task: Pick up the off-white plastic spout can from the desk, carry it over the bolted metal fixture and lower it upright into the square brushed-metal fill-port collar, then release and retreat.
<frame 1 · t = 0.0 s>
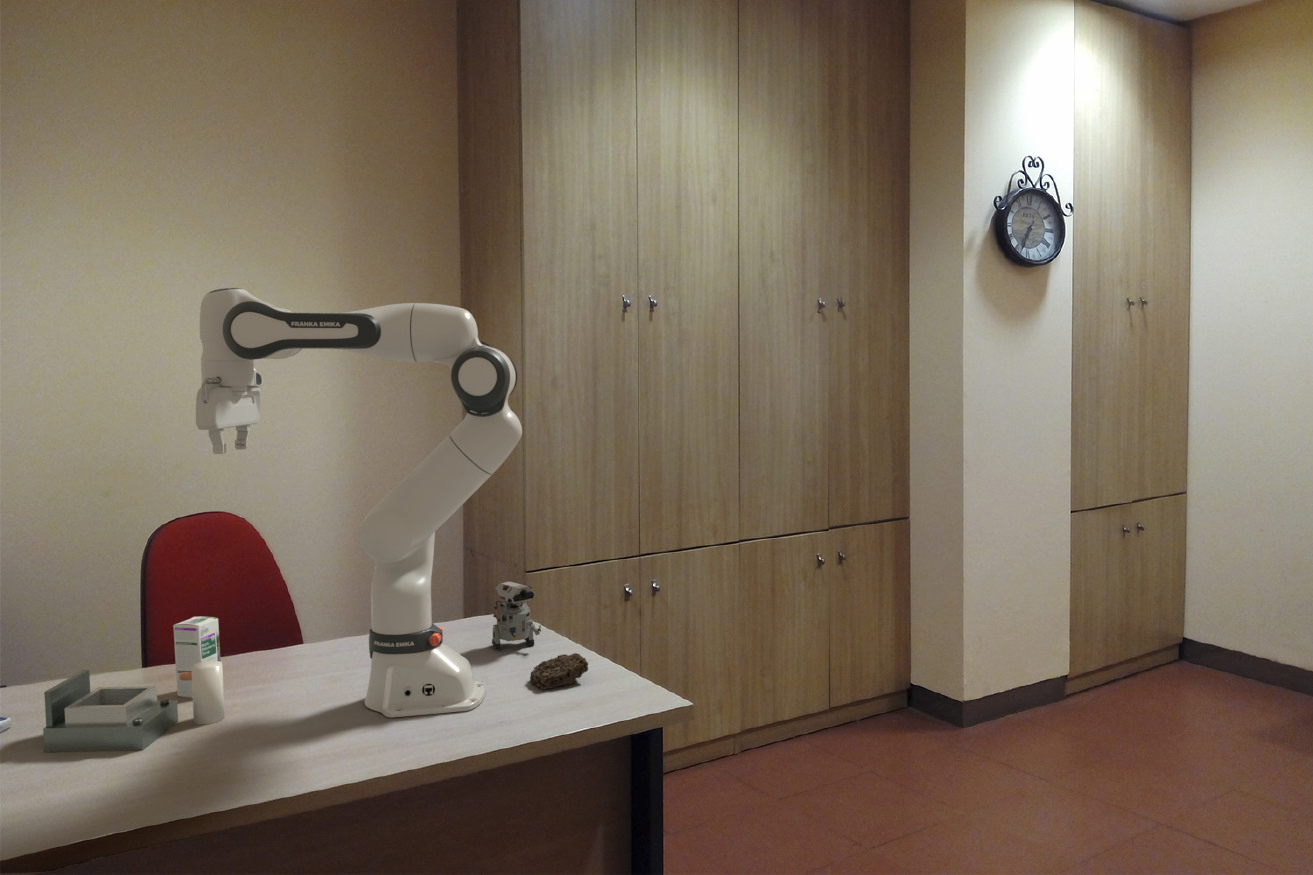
hand: (230, 451, 167), 48 cm above the table, tool pointing down, fingers open, 8 cm apart
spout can: (209, 719, 163), on the table
syrup box: (199, 693, 177), on the table
bolted metal fixture: (114, 736, 155), on the table
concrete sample: (558, 682, 183), on the table
figurine: (515, 649, 204), on the table
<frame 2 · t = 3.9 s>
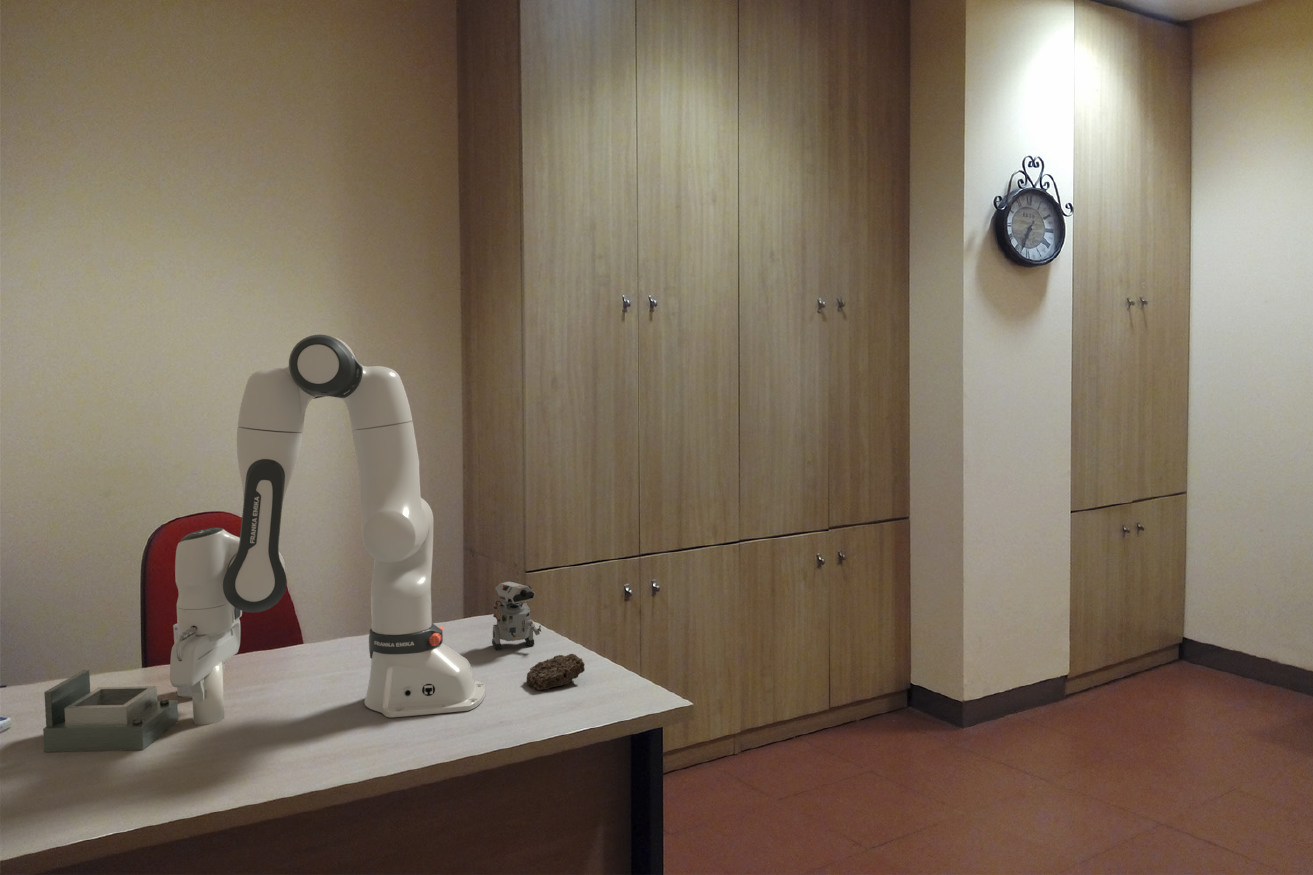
hand: (208, 694, 163), 5 cm above the table, tool pointing down, fingers closed on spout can, 5 cm apart
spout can: (208, 719, 163), on the table, touching gripper
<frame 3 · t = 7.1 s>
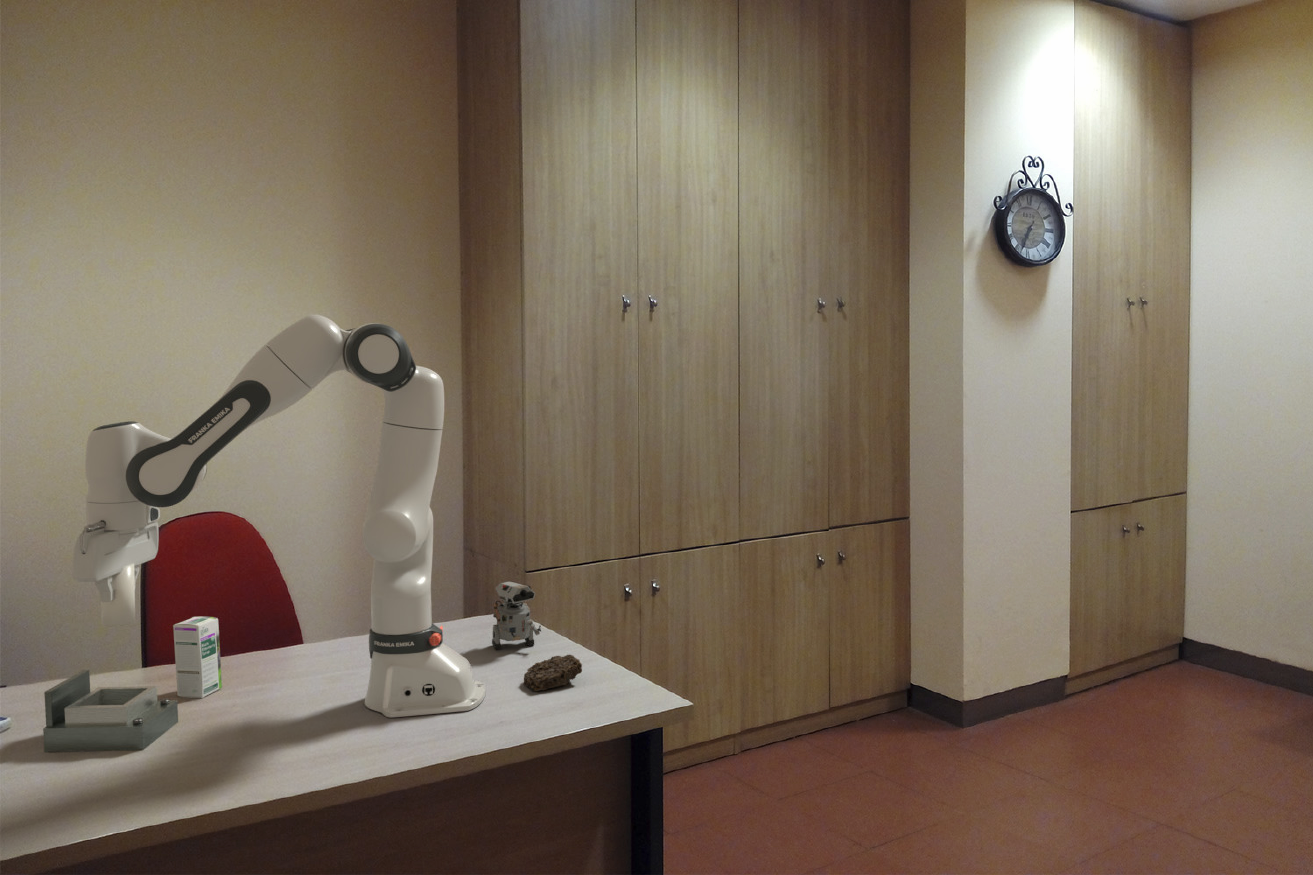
hand: (118, 596, 154), 24 cm above the table, tool pointing down, fingers closed on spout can, 5 cm apart
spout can: (118, 622, 155), point 20 cm above the table, touching gripper
when the fingers open (10 cm above the table, at t = 10.6 s): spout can drops 1 cm, resting on bolted metal fixture.
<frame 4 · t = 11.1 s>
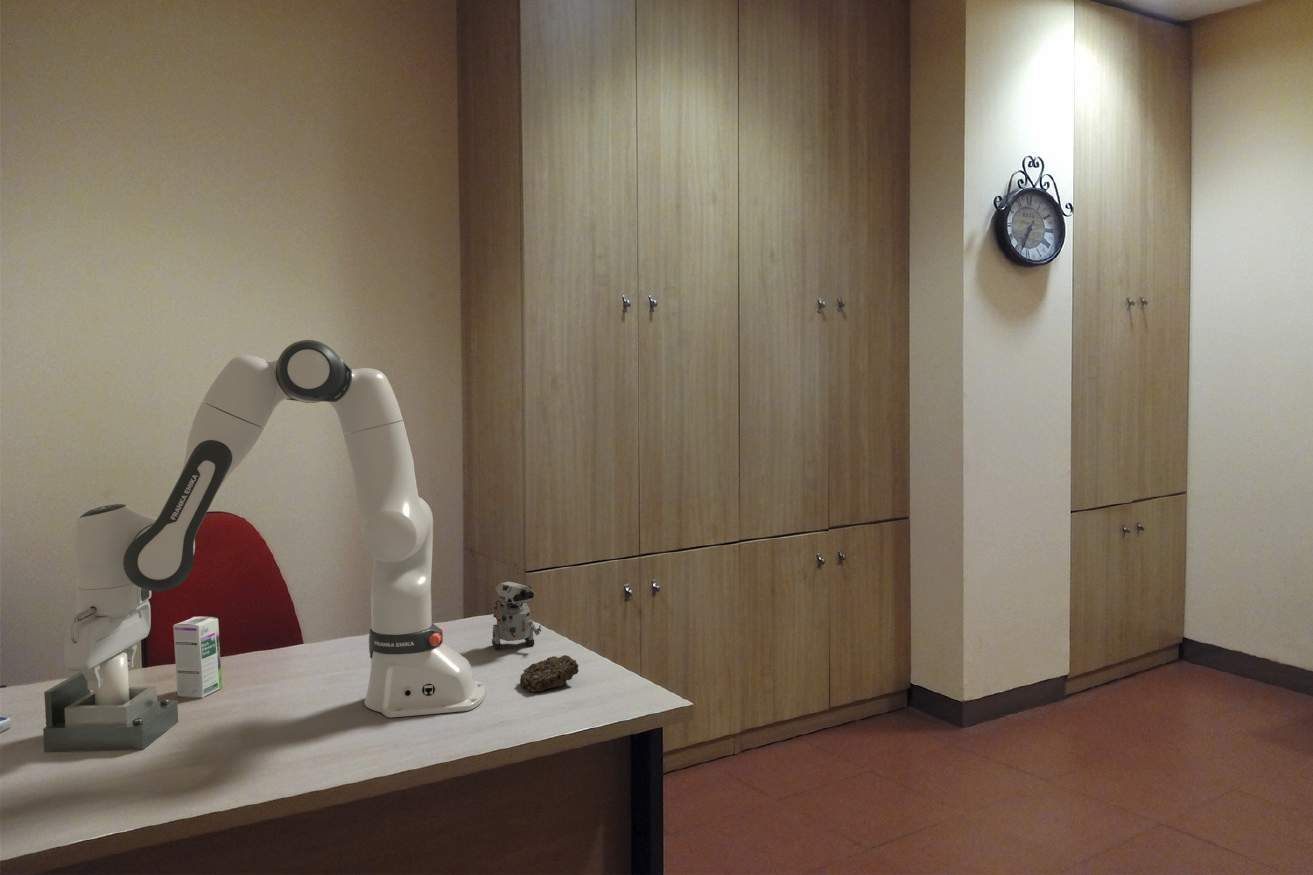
hand: (111, 679, 155), 10 cm above the table, tool pointing down, fingers open, 8 cm apart
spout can: (113, 713, 155), point 4 cm above the table, touching bolted metal fixture
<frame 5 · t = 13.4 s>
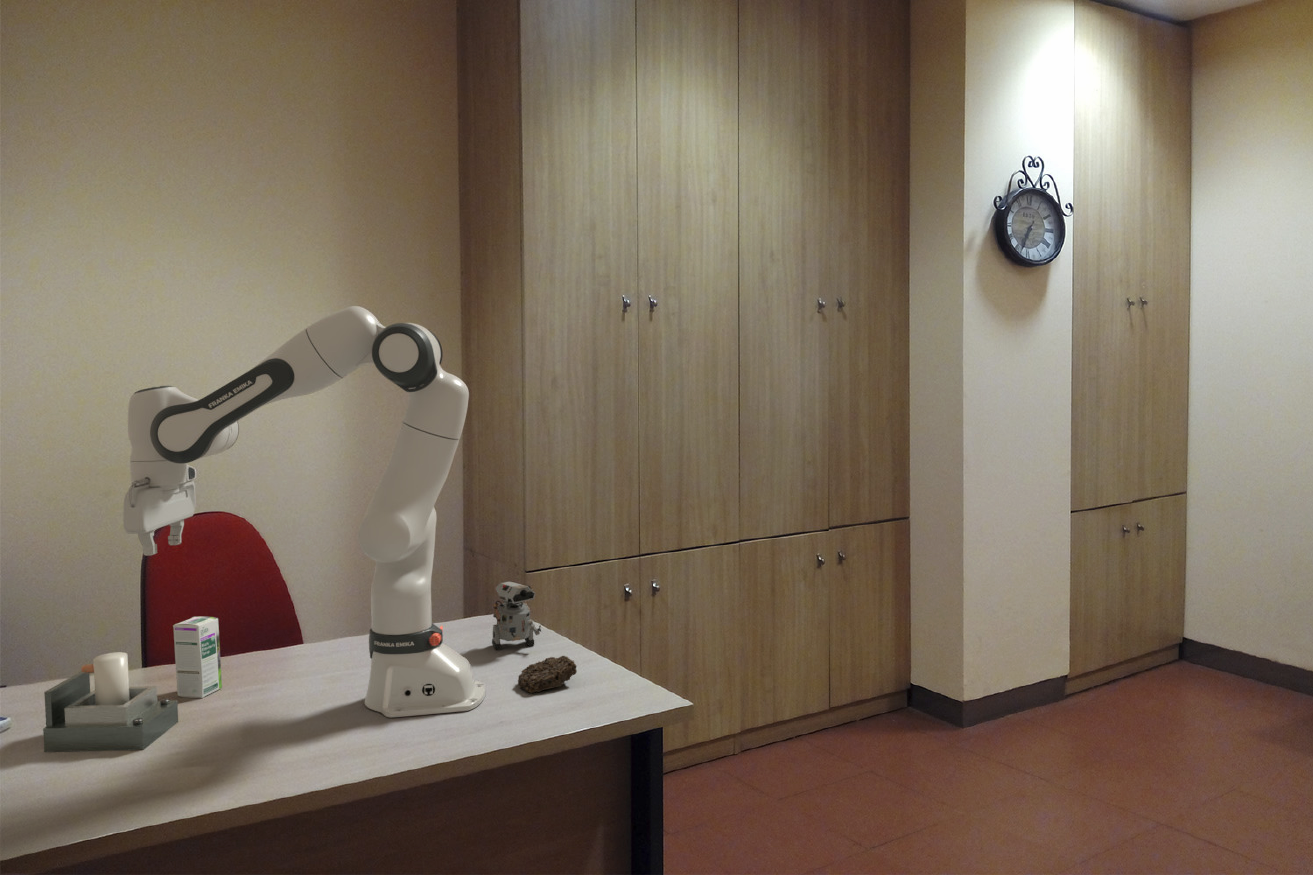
hand: (163, 549, 166), 30 cm above the table, tool pointing down, fingers open, 8 cm apart
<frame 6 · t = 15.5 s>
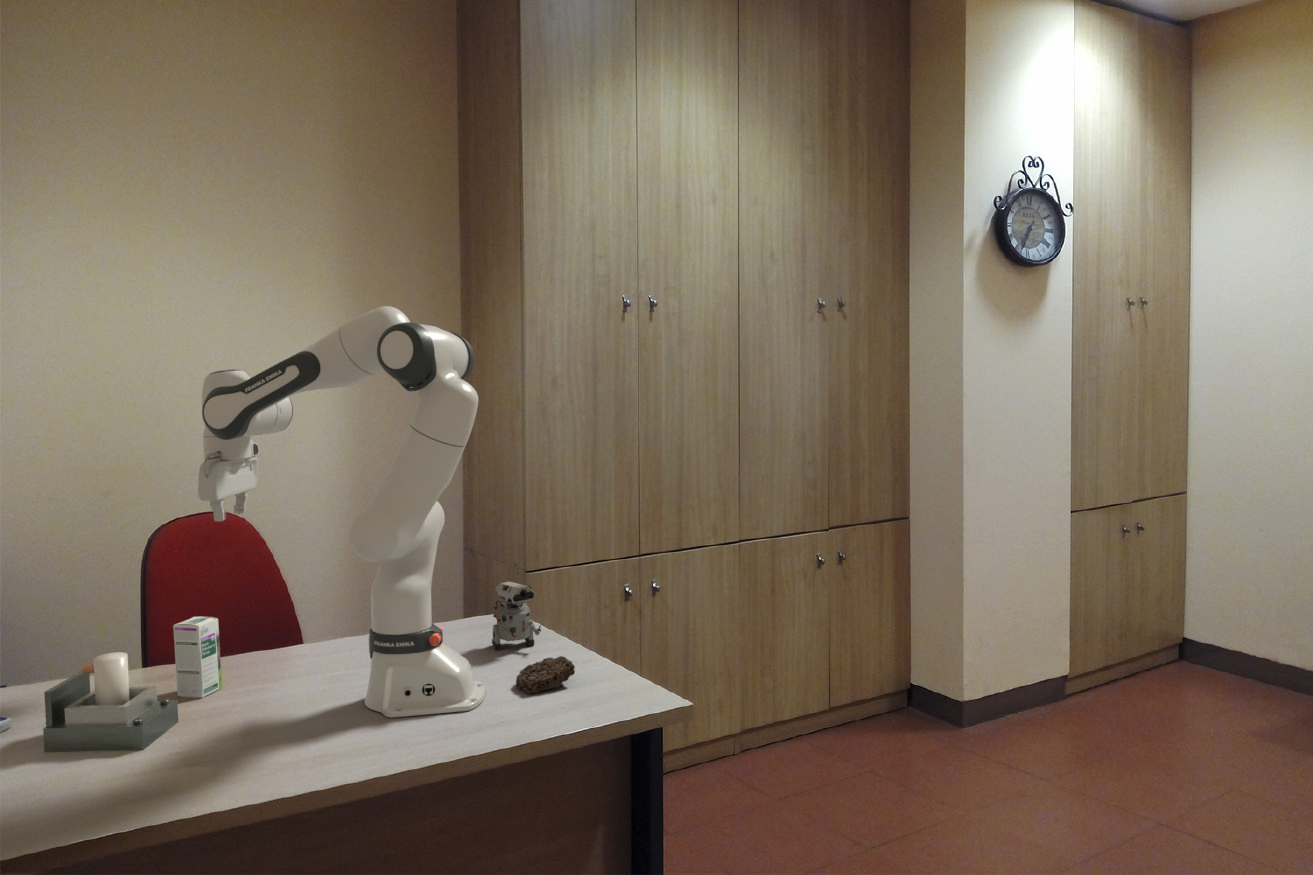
hand: (230, 517, 184), 33 cm above the table, tool pointing down, fingers open, 8 cm apart
at the end: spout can 0.1 cm off-centre on the bolted metal fixture, point 4.0 cm above the bolted metal fixture's base; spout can tilted 0°; the gripper is holding nothing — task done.
